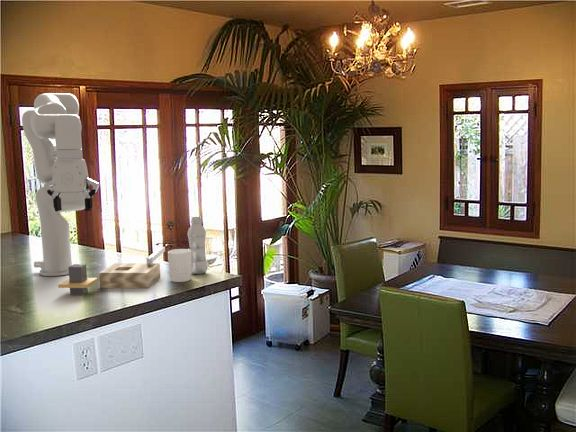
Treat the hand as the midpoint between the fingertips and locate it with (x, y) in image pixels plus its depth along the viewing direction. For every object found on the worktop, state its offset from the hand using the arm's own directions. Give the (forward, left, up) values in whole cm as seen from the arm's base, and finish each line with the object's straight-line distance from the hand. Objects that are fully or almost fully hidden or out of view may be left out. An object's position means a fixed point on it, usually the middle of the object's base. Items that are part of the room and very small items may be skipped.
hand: (73, 210), depth 191 cm
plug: (0, 0, -26) cm, 26 cm away
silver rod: (+17, +26, -21) cm, 38 cm away
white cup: (+28, +18, -26) cm, 43 cm away
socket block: (+12, +14, -26) cm, 32 cm away
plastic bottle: (+32, +27, -26) cm, 50 cm away
